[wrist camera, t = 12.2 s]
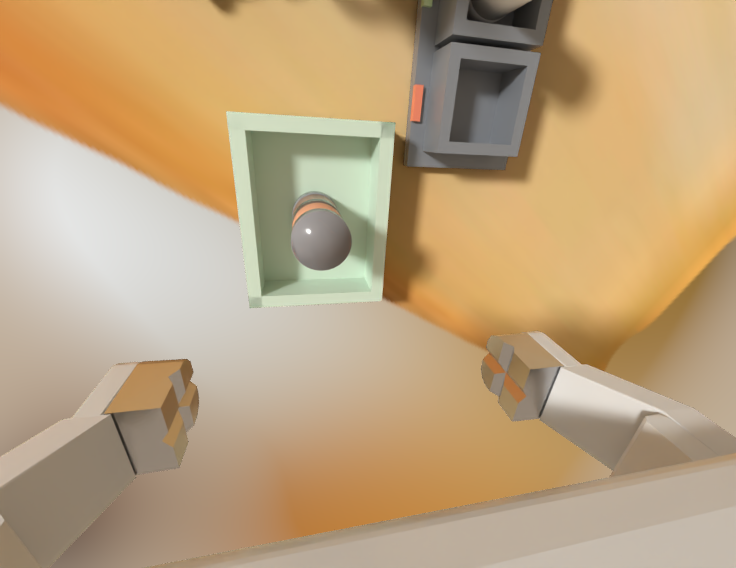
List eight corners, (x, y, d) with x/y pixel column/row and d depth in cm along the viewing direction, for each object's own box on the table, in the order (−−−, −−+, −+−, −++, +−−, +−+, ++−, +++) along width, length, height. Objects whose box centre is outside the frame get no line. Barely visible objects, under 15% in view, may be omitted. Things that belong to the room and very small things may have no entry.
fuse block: (427, -102, 20) (455, -152, 17) (549, -75, 22) (597, -115, 19) (403, 165, 27) (419, 169, 23) (498, 168, 29) (526, 173, 25)
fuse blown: (291, 190, 25) (289, 212, 18) (337, 191, 26) (352, 212, 19) (293, 235, 27) (292, 271, 20) (336, 235, 28) (351, 269, 21)
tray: (235, 114, 23) (226, 111, 20) (382, 124, 25) (395, 122, 22) (254, 288, 29) (249, 308, 26) (373, 284, 31) (381, 301, 28)
